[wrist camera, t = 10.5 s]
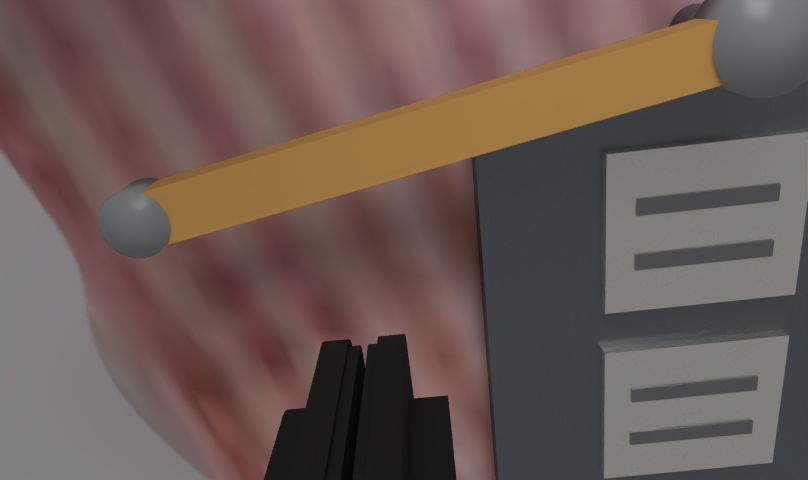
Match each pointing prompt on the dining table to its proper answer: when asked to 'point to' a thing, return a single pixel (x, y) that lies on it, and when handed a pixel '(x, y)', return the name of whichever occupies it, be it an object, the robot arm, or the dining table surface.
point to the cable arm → (472, 122)
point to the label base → (650, 293)
